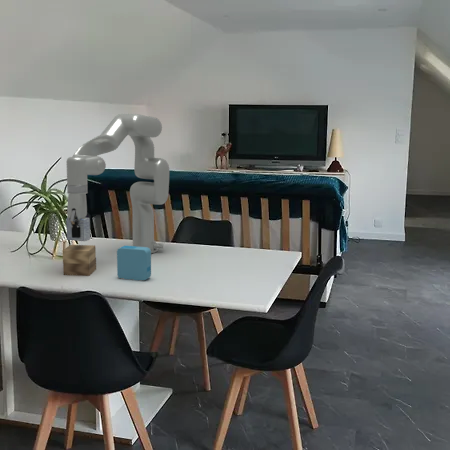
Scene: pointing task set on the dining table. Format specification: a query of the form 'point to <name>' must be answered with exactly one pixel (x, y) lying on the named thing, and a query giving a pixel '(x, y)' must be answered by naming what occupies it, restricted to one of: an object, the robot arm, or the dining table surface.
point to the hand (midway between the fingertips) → (78, 235)
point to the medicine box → (84, 230)
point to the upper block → (79, 254)
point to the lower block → (79, 269)
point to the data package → (134, 262)
